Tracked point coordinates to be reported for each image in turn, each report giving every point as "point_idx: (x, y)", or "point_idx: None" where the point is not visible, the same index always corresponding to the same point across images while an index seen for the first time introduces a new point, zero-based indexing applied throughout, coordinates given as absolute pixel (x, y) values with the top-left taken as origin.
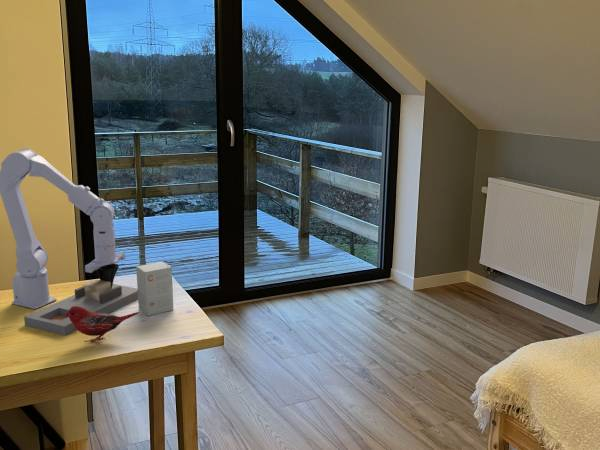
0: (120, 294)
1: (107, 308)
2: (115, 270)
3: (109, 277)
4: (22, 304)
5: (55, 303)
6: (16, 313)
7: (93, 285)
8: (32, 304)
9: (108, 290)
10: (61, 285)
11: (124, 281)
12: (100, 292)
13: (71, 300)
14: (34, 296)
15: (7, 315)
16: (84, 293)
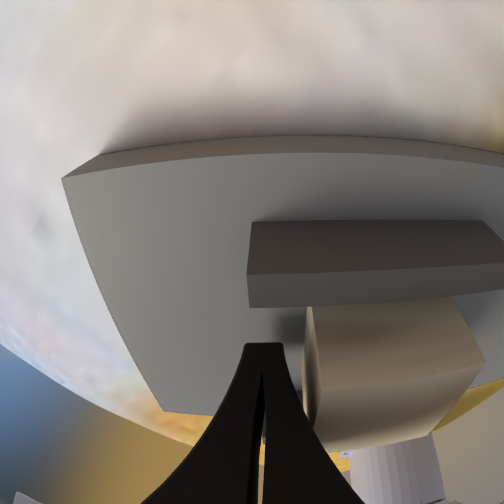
0: (273, 224)
1: (487, 158)
2: (198, 496)
3: (298, 444)
4: None
5: (473, 385)
6: (466, 404)
7: (439, 408)
8: None
9: (348, 323)
10: None
11: (64, 359)
12: (447, 324)
13: None
14: (432, 442)
15: (476, 404)
16: None
